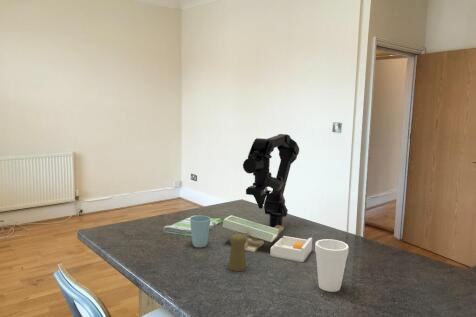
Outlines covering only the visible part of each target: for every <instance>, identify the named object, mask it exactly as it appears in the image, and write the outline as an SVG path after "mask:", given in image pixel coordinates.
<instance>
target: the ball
mask: <svg viewBox="0 0 476 317" xmlns="http://www.w3.org/2000/svg"><path fill="white" fill-rule="evenodd" d="M302 246H303V243H301V242H295V243H294V245H293V248H294V249H300V250H301V248H302Z"/></svg>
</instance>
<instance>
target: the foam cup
mask: <svg viewBox="0 0 476 317" xmlns="http://www.w3.org/2000/svg"><path fill="white" fill-rule="evenodd" d="M314 244H315V245H314V246H315V247H314V248H315V249H314V251H315V257H316V270H317V280H318V281H317V284H318V287H319V288H320V289H321V290H323V291H325V292H329V293H330V292H331V293H332V292H333V293H334V292H338V291H340V290H341V287H342V282H343V278H344V274H345V268H346V263H347V258H348V256H349V248H350V247H349V245H348V243H345V242H344V241H341V240H337V239H331V238H330V239H327V238H326V239H325V238H324V239H319V240H316V241H315V243H314Z"/></svg>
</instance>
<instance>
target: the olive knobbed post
mask: <svg viewBox="0 0 476 317" xmlns="http://www.w3.org/2000/svg"><path fill="white" fill-rule="evenodd" d="M229 242H230V244H231V247H230V253H229V254H230V255H229V261H228V267H227V268H228V269H229V270H230V271H234V272H243V271H246V270H247V259H246V250H245V247H244V245H245V243H246V237H245V236H244V235H242V233H235V234H232V235H231V236H230V239H229Z"/></svg>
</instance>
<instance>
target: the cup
mask: <svg viewBox="0 0 476 317" xmlns="http://www.w3.org/2000/svg"><path fill="white" fill-rule="evenodd" d="M192 216H193V217H191V216H190V217H191V218H190V223H191V233H192V237H191V241H192V246H193V247H195V248H204V247H207V246H208V243H209V242H208V241H209V234H210V230H209V227H210V220H211V218H212V217H210V216H207V215H199V216H194V215H192Z"/></svg>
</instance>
